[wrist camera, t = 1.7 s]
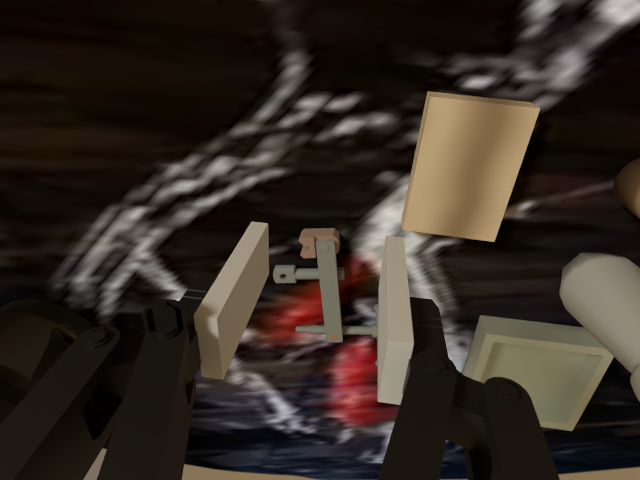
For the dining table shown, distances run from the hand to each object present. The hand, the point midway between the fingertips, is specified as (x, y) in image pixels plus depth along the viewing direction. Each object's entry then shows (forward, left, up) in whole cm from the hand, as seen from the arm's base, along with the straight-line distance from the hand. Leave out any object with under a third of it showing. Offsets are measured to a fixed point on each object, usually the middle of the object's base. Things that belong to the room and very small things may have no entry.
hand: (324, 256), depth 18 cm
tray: (+19, -19, -15) cm, 30 cm away
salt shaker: (+21, -8, -15) cm, 27 cm away
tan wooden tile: (+9, 0, -15) cm, 17 cm away
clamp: (0, -14, -15) cm, 21 cm away
